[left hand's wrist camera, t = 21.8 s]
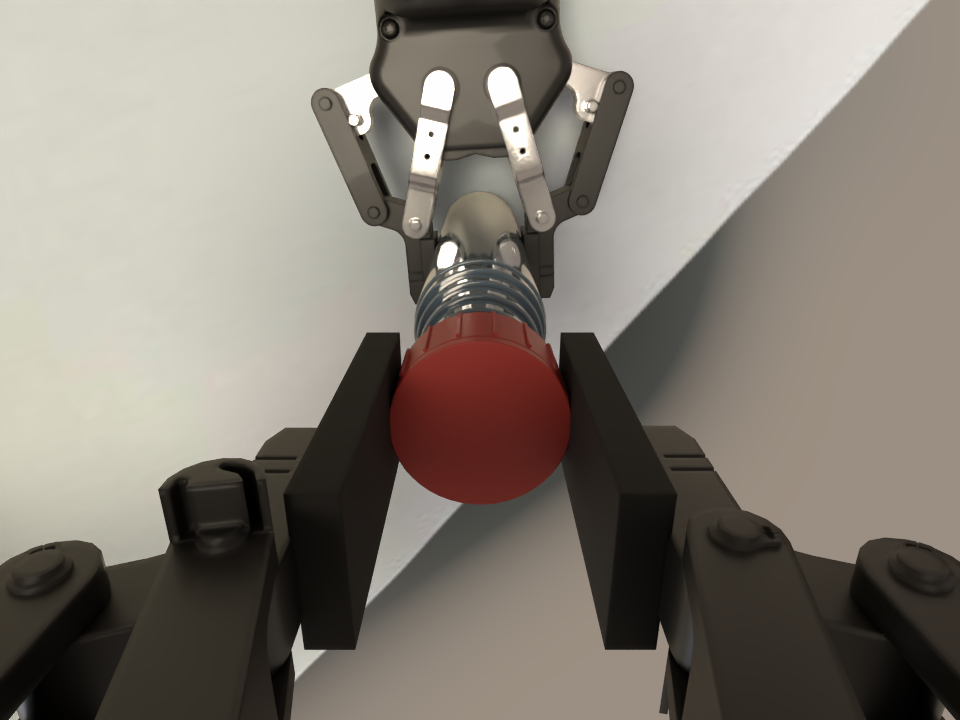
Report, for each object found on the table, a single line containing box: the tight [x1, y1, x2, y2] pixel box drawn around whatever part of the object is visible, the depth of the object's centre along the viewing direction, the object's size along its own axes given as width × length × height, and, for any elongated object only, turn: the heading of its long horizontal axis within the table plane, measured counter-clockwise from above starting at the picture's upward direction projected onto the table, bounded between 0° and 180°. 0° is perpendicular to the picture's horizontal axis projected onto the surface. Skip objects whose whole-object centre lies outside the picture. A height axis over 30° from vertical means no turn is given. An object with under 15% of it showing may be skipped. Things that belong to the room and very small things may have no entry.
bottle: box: [414, 192, 546, 342], centre depth 24 cm, size 4×4×23 cm
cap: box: [390, 311, 571, 504], centre depth 14 cm, size 4×4×2 cm
